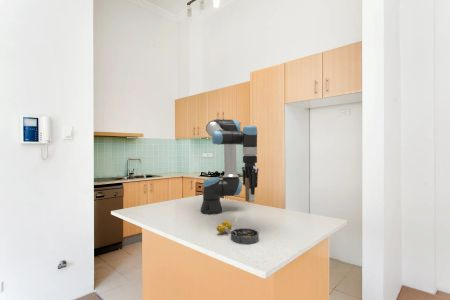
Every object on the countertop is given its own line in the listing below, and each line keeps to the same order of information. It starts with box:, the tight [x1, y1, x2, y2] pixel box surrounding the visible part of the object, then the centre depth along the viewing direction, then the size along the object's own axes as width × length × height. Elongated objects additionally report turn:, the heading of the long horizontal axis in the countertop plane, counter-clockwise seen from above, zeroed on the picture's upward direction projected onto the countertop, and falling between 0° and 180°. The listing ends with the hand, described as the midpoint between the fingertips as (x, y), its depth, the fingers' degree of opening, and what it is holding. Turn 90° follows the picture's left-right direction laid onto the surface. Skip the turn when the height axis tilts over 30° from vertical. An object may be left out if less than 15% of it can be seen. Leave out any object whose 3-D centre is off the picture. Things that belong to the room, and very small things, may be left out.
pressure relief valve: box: [216, 220, 237, 236], centre depth 124 cm, size 6×12×10 cm
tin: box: [230, 227, 260, 245], centre depth 117 cm, size 13×13×3 cm
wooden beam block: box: [244, 178, 254, 203], centre depth 129 cm, size 4×4×12 cm
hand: (249, 199), depth 129 cm, fingers closed on wooden beam block, 3 cm apart
